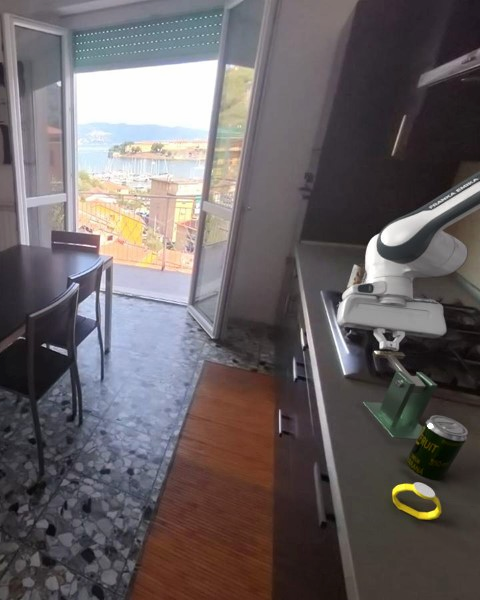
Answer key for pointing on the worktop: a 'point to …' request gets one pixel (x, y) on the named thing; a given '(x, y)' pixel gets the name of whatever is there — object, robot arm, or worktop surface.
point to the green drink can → (436, 447)
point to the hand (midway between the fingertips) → (389, 349)
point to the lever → (400, 367)
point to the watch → (423, 492)
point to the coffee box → (357, 275)
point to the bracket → (403, 406)
